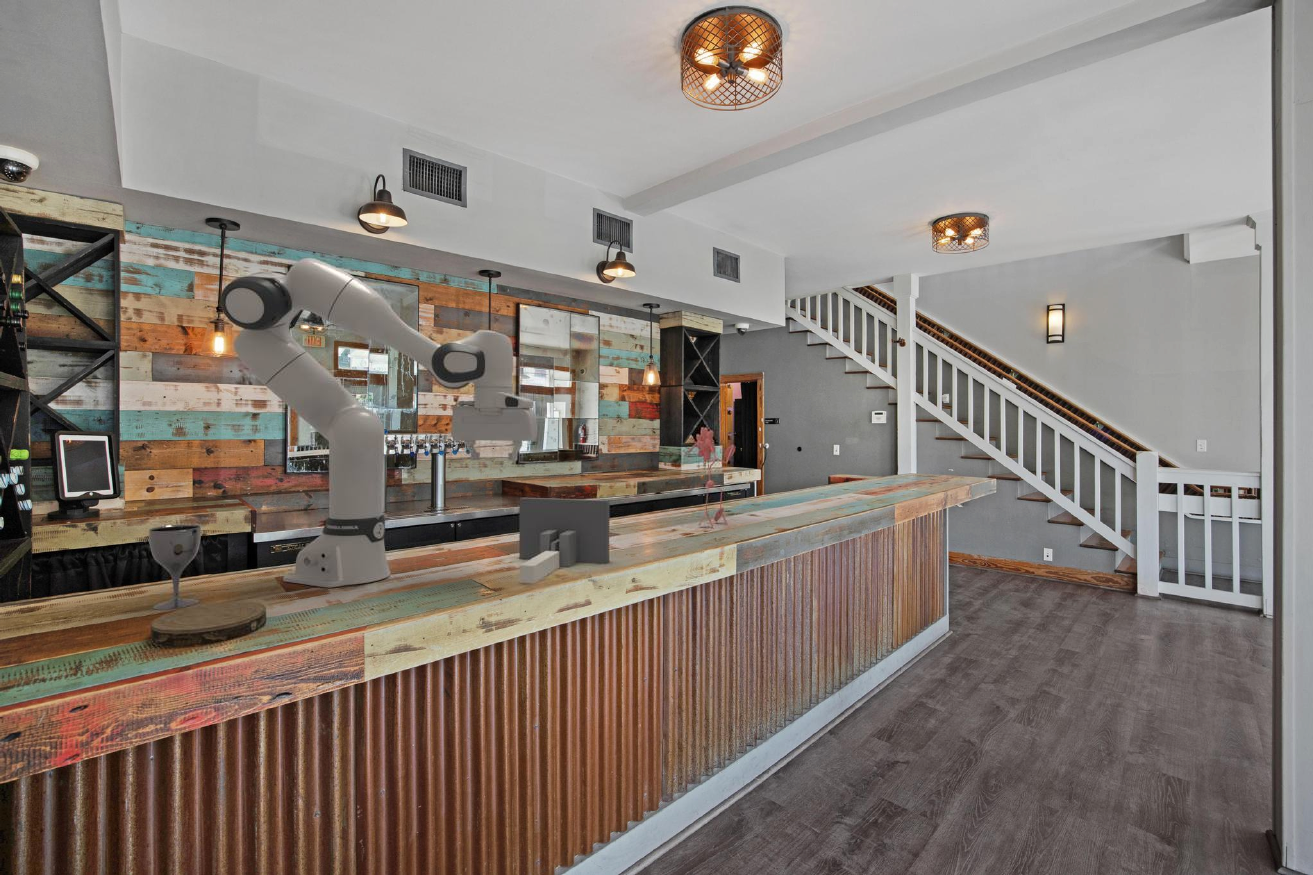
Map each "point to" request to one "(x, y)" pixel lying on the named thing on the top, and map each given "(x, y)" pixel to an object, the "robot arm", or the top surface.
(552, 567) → the rail
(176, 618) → the wood slice coaster
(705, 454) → the pink spindly flower stalk
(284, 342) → the robot arm
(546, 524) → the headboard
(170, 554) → the wine glass
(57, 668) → the top surface
